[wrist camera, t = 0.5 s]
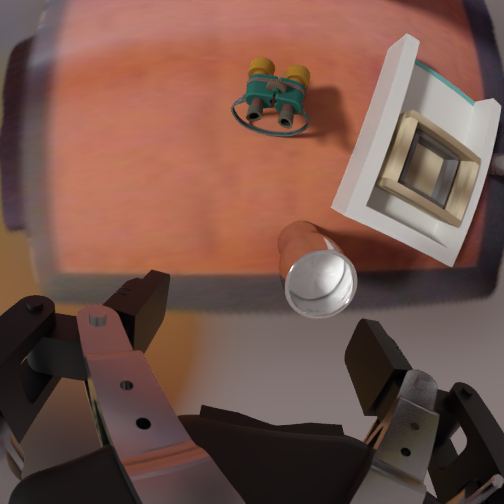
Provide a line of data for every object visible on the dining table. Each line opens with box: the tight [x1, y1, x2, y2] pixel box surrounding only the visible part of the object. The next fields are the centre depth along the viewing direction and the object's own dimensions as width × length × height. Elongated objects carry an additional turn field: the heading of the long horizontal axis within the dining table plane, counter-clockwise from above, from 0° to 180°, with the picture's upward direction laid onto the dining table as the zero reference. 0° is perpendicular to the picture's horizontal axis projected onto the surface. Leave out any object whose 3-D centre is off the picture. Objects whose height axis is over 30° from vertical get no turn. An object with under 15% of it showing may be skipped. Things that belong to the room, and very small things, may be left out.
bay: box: [331, 34, 501, 267], centre depth 32 cm, size 26×18×6 cm
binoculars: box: [231, 57, 310, 136], centre depth 31 cm, size 9×9×10 cm
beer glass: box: [278, 221, 357, 319], centre depth 32 cm, size 7×7×15 cm
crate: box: [374, 110, 481, 228], centre depth 31 cm, size 10×12×6 cm
